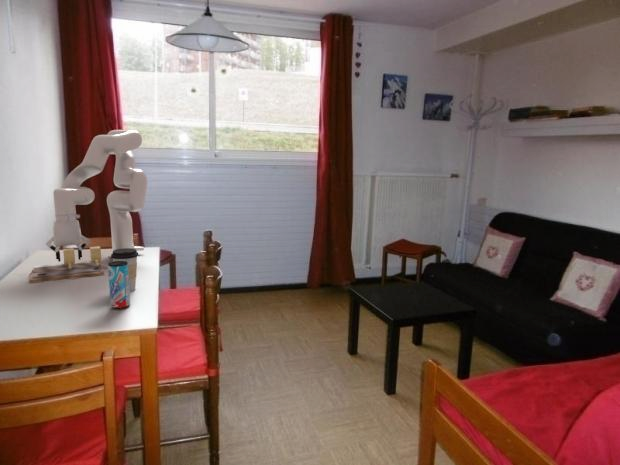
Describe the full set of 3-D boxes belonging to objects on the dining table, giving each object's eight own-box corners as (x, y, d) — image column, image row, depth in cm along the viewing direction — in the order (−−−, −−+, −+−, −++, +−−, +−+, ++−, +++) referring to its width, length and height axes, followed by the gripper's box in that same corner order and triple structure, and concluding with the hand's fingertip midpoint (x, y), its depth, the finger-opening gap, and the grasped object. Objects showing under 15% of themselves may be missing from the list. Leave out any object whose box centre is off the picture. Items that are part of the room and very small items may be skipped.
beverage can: (108, 306, 145) (105, 262, 142) (126, 302, 149) (123, 260, 147) (115, 311, 141) (112, 266, 138) (133, 307, 145) (130, 263, 142)
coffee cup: (123, 295, 156) (121, 254, 153) (107, 290, 161) (104, 251, 158) (145, 289, 164) (143, 250, 161) (129, 284, 169) (127, 246, 166)
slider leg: (75, 263, 188) (74, 248, 187) (75, 269, 179) (74, 253, 178) (64, 264, 186) (63, 249, 185) (64, 270, 177) (63, 254, 176)
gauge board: (101, 265, 195) (100, 258, 194) (103, 274, 181) (103, 267, 181) (32, 272, 182) (31, 265, 182) (29, 282, 169) (28, 274, 168)
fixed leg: (101, 261, 193) (99, 246, 191) (102, 267, 184) (101, 251, 182) (90, 262, 191) (89, 247, 190) (92, 268, 182) (91, 252, 181)
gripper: (88, 215, 189) (91, 256, 192) (42, 218, 181) (46, 260, 184) (89, 218, 182) (92, 259, 186) (41, 220, 174) (45, 264, 177)
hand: (69, 259), depth 185 cm, fingers open, 6 cm apart
